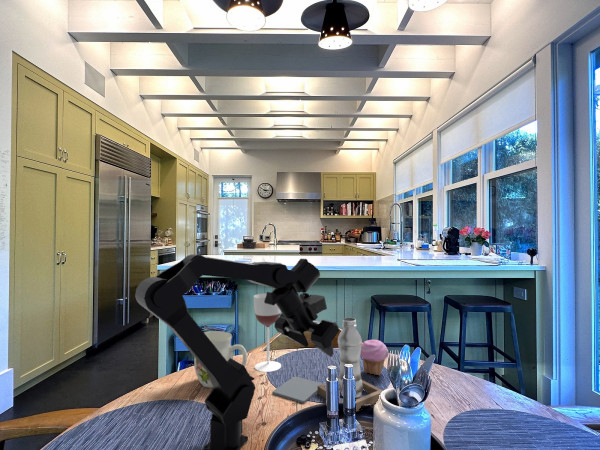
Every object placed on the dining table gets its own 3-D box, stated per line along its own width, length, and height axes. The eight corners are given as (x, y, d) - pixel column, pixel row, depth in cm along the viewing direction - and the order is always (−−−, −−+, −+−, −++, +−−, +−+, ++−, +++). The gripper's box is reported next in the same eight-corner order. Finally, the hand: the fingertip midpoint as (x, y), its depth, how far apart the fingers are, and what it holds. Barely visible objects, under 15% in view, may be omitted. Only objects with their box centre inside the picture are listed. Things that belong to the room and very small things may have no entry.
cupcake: (355, 375, 95) (354, 341, 95) (364, 365, 102) (363, 334, 103) (384, 381, 90) (384, 346, 91) (391, 370, 98) (391, 338, 98)
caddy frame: (349, 414, 73) (349, 405, 74) (317, 393, 84) (317, 385, 84) (384, 399, 80) (384, 391, 81) (351, 381, 91) (351, 374, 91)
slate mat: (304, 403, 79) (304, 401, 79) (272, 393, 84) (272, 391, 84) (324, 386, 88) (324, 384, 88) (294, 378, 93) (294, 376, 93)
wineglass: (248, 370, 99) (248, 297, 100) (261, 359, 108) (261, 292, 110) (275, 374, 96) (275, 298, 97) (286, 361, 106) (285, 293, 107)
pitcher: (241, 393, 84) (241, 341, 85) (178, 389, 87) (178, 339, 87) (252, 375, 95) (252, 330, 96) (196, 373, 98) (196, 328, 98)
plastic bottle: (334, 399, 81) (333, 321, 82) (343, 388, 87) (342, 315, 88) (358, 405, 78) (357, 323, 79) (366, 393, 84) (364, 317, 85)
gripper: (338, 287, 73) (363, 335, 78) (288, 280, 87) (312, 320, 92) (309, 322, 66) (339, 371, 72) (261, 308, 81) (289, 350, 86)
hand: (319, 350), depth 80 cm, fingers open, 9 cm apart
